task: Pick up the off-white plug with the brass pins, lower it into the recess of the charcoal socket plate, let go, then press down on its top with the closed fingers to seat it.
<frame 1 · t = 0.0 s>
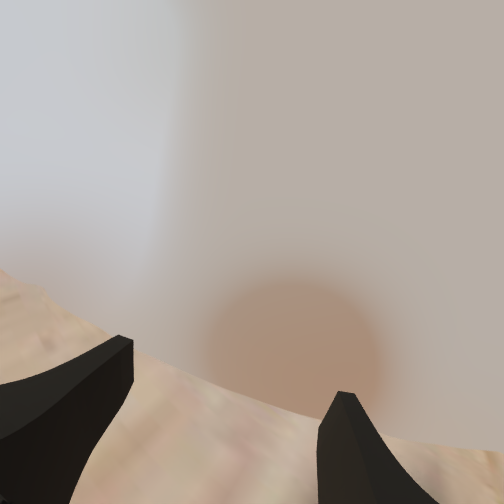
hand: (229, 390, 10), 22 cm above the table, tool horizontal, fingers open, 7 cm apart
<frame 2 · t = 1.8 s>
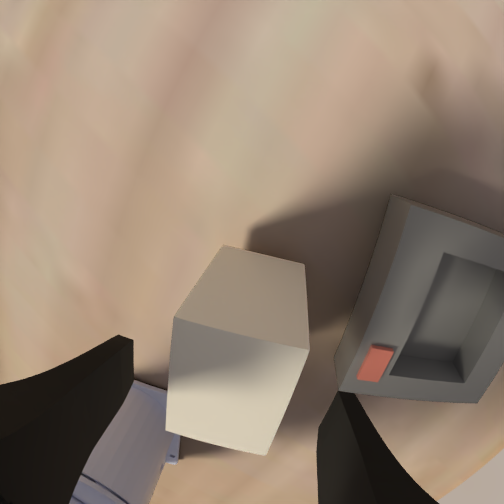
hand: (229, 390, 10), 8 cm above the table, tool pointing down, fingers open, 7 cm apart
plug: (254, 293, 18), on the table
socket: (438, 301, 16), on the table
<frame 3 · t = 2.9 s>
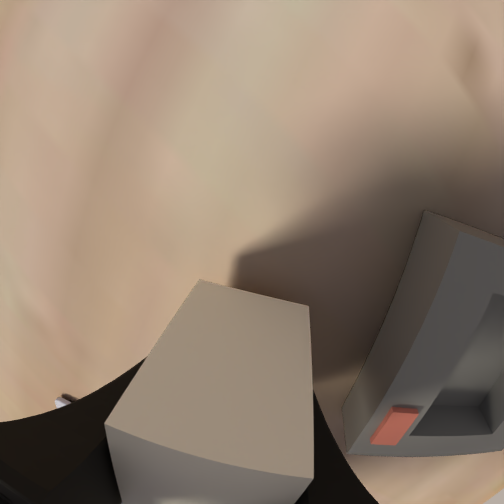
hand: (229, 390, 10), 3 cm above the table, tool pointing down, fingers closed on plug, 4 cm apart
plug: (243, 336, 14), on the table, touching gripper
socket: (470, 341, 12), on the table
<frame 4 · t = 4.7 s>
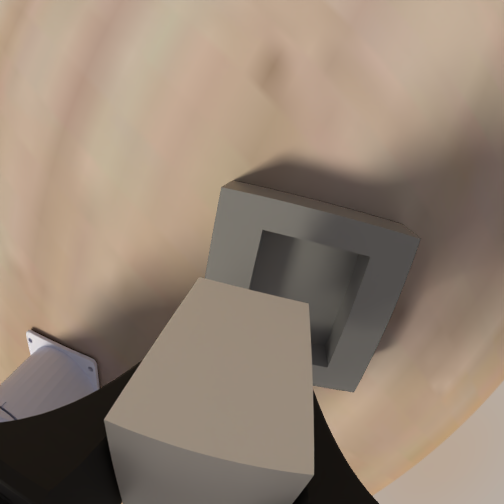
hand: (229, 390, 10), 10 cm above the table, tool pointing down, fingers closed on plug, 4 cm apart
plug: (243, 334, 14), point 6 cm above the table, touching gripper
socket: (298, 282, 19), on the table
when the fingers open (5 cm above the table, at t = 6.5 s): plug stays where it is, resting on socket.
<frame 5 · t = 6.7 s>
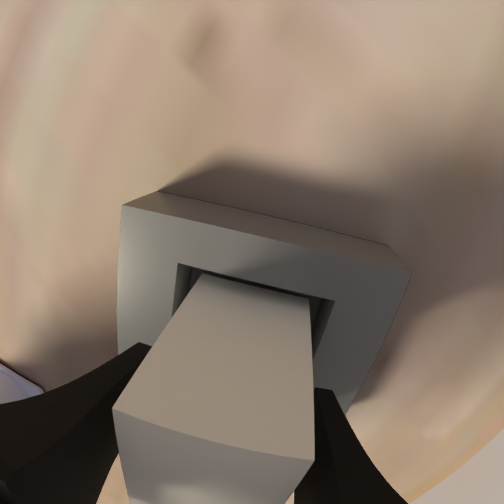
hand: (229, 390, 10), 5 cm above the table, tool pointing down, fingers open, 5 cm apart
plug: (245, 330, 14), point 1 cm above the table, touching socket
socket: (247, 322, 15), on the table
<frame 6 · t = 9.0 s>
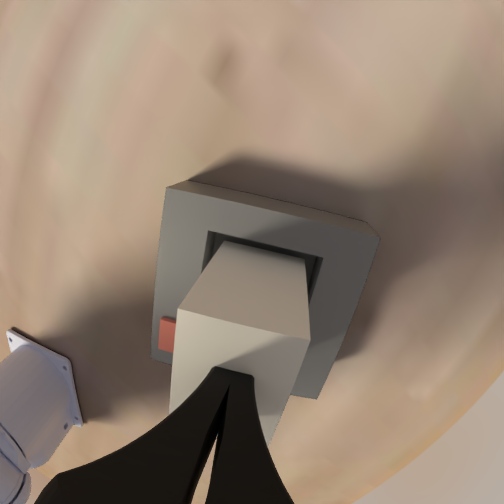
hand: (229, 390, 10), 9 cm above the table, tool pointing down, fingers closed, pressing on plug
plug: (255, 289, 18), point 1 cm above the table, touching gripper, socket
socket: (257, 284, 19), on the table
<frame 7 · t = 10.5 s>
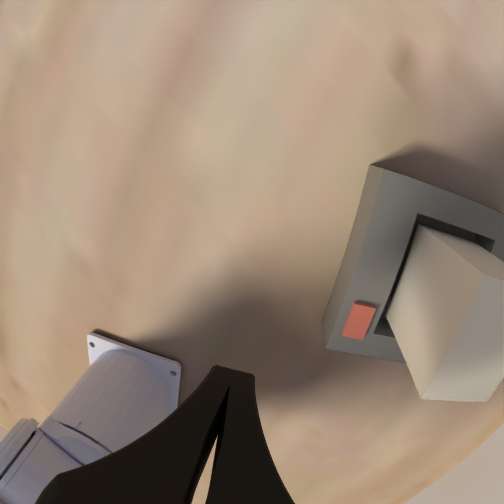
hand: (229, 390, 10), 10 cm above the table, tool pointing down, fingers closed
plug: (424, 271, 17), point 1 cm above the table, touching socket
socket: (420, 267, 18), on the table
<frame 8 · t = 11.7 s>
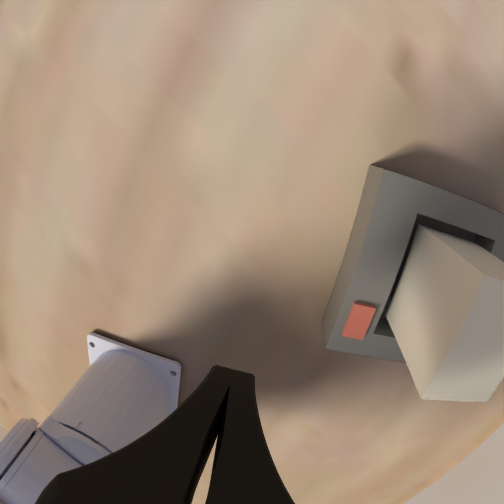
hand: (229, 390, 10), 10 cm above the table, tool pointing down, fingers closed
plug: (424, 271, 17), point 1 cm above the table, touching socket
socket: (420, 267, 18), on the table
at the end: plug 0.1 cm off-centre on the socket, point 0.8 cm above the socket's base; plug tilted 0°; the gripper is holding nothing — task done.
